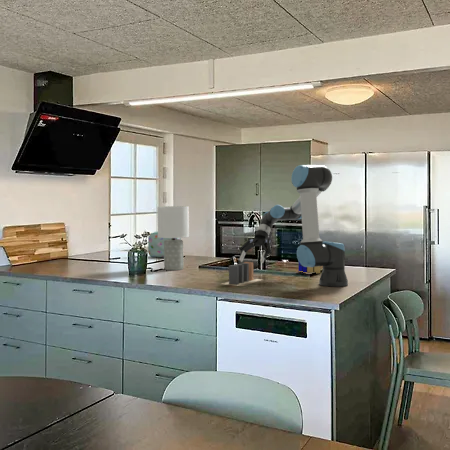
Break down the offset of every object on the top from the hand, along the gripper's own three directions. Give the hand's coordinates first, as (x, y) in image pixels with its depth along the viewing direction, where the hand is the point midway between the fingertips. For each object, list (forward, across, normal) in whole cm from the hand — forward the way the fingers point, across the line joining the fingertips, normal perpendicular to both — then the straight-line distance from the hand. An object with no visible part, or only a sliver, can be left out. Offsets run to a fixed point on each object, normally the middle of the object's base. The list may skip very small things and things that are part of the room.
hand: (250, 261), depth 302 cm
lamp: (-4, +66, -18) cm, 69 cm away
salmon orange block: (+10, 0, -4) cm, 11 cm away
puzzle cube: (-22, -19, -37) cm, 47 cm away
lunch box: (-41, +114, -55) cm, 133 cm away
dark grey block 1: (+21, 0, +7) cm, 23 cm away
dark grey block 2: (+14, 0, -1) cm, 14 cm away
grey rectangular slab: (+18, 0, +3) cm, 18 cm away
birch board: (+16, 0, 0) cm, 16 cm away
